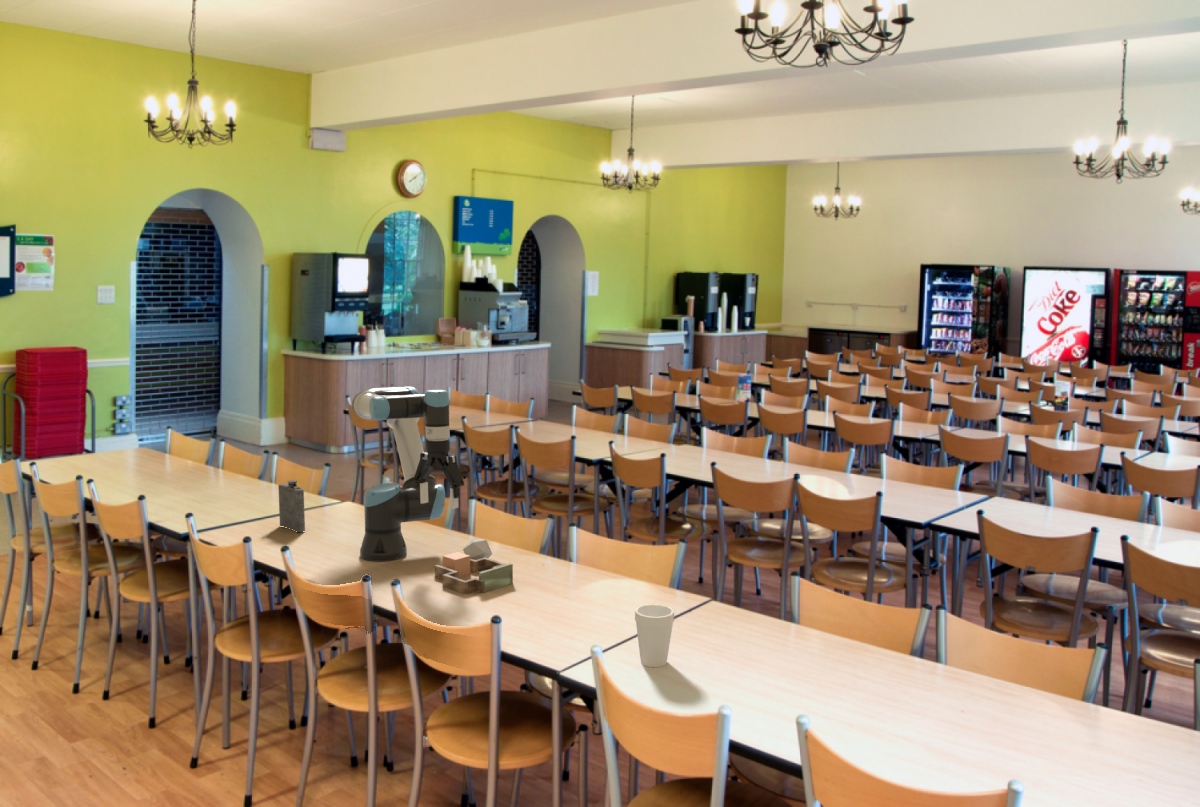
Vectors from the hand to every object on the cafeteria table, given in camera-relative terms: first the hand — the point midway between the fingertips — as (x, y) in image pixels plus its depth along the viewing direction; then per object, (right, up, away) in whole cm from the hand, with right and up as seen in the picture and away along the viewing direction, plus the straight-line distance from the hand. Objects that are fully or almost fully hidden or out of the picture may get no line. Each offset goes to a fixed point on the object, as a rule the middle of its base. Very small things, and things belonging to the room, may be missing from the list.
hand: (439, 505), depth 300 cm
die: (+11, -20, +7) cm, 24 cm away
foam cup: (+64, -31, -69) cm, 99 cm away
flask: (-61, -14, +45) cm, 77 cm away
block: (+6, -21, -4) cm, 22 cm away
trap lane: (+12, -22, -9) cm, 27 cm away
